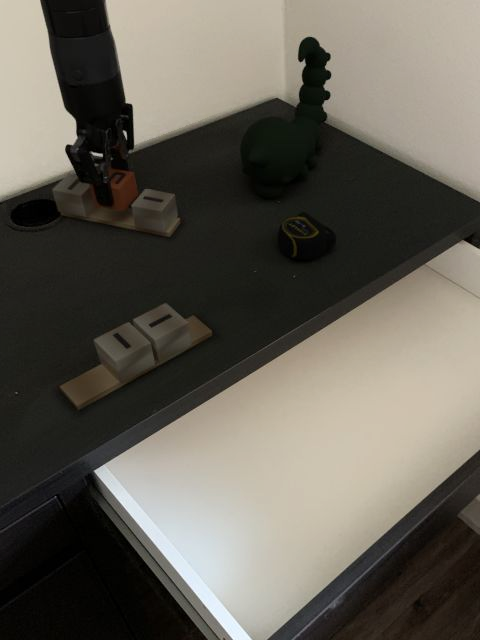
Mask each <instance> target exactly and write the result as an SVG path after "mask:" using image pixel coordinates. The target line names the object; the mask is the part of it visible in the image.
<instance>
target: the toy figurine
mask: <svg viewBox="0 0 480 640" xmlns="http://www.w3.org/2000/svg"><path fill="white" fill-rule="evenodd" d="M331 57H332V55H331V53H330V52H327V51H326V50H325V49H324V48H323V47H322V46H321V45H320V42H319V40H318V39H317V38H316V37H313V36H306V37H304V38H303V39H302V40H301V41H300V42H299V45H298V50H297V60H298V62H299V63H303V62H304V64H305V66H304V67H303V69H302V71H301V81H302V84H301V86H300V88H299V91H298V101H299V102H298V103H297V105H296V107H295V109H294V118H292V119H291V121H290V120H288V119H286V118H283V117H280V116H266V117H262V118H260V119H257V120H256V121H255V122H253V123H252V124H251V125H250V126H249V127H248V128H247V129H246V130H245V132H244V134H243V136H242V138H241V142H240V146H239V153H240V160H241V165H242V166H241V172H242V173H243V174H244V175H247V176H249V177H250V178H251V179H252V180H254V181H255V183H254V190H255V191H256V193H257V194H258V195H259V196H260V197H262V198H266V199H271V200H272V199H277V198H279V197H281V195H282V194H283V191H284V187H283V186H284V185H287V184H289V183H290V182H292V181H293V180H294V179H297V180H303V179H306V178H307V177H308V174H309V169H314V168H315V167H316V165H317V164H318V159H317V157H316V155H314V152H315V151H321V150H322V149H323V147H324V140H323V138H321V137H320V135H321V129H320V126H321V125H322V123H325V122H326V121H327V120H328V113H327V112H326V111H325V109H324V106H323V105H324V104H325V102H327V101H329V100H330V98H331V95H332V93H331V92H330V90H327V89H325V85H326V83H327V81H329V80H331V78H332V72H331V71H330V69H326V66H327V64H328V62H330V61H331Z"/></svg>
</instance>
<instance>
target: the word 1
mask: <svg viewBox="0 0 480 640" xmlns="http://www.w3.org/2000/svg"><path fill="white" fill-rule="evenodd" d="M51 191H52V194H53V195H52V196H53V198H54V202H55V205H56V209H57V212H59V213H60V215H61V216H64V217H68V218H74V219H79V220H83V221H87V222H92V223H93V222H94V223H98V224H103V225H108V226H113V227H117V228H122V229H127V230H131V231H137V232H141V233H142V232H143V233H146V234H153V235H157V236H162V237H167V238H171V237H172V235H173V234H174V232H175V231H176V230H177V229H178V227H179V225H180V224H181V223H182V221H181V217H178V216H179V214H178V207H177V200H176V194H175V193H171V192H165V191H159V190H156V189H149V188H145V189H143V191H142V192H141V193H140V194H139V195H138V196H137V197H136V198H135V199H134V201H133V202H132V203H131V204H130V205H131V206H130V207H128V208H127V209H126V210H125V211H124V212H123V211H118V210H113V209H108V208H103V207H98V206H95V205H94V201H93V197H92V193H91V189H90V185H89V184H87V183H81V182H80V181H79V178H78V176H77V174H72V173H68V174H66V176H64V178H63V179H62V180H61V181H59V182H58V183H57V184H56V185H55V186H54V187H53V188H52V189H51Z"/></svg>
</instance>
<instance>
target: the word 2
mask: <svg viewBox="0 0 480 640" xmlns="http://www.w3.org/2000/svg"><path fill="white" fill-rule="evenodd" d="M132 323H133V325H132V324H131V322H129V321H128V322H125V323H123V324H121V325H120V326H119V325H118V327H115V328H113V329H112V330H110V331H108V332H105V333H104V334H101V335H100V336H98V337H96V338H94V339H93V343H94V346H95V349H96V353H97V356H98V360H99V363H100V364H98V365H97V366H95V367H93V368H91V369H89V370H87V371H85V372H84V373H82V374H80V375H78V376H76V377H74V378H72V379H70V380H69V381H66V382H64V383H62V384H61V385H59V389H60V392H62V394H63V395H64V396H65V398H67V399H68V401H69V402H70V403H71V404H72V405H73V407H75V408H76V410H78V411H80V410H82V409H84V408H86V407H87V406H89V405H91V404H93V403H94V402H96V401H99V400H100V399H102V398H103V397H105V396H107V395H109V394H111V393H112V392H114V391H116V390H118V389H120V388H121V387H124V386H125V385H127V384H129V383H130V382H132V381H134V380H137V378H140V377H141V376H143V375H145V374H147V373H148V372H150V371H152V370H154V369H156V368H157V367H159V366H161V365H163V364H164V363H166V362H168V361H170V360H171V359H174V358H175V357H177V356H179V355H181V354H182V353H184V352H186V351H188V350H190V349H191V348H193V347H195V346H197V345H198V344H201V343H203V342H204V341H206V340H207V339H209V338H211V337H213V330H212V329H210V328H209V327H208V326H207V325H206V324H204V323H203V322H202V321H201V320H200V319H199V318H197V317H196V316H195V315H194V314H192V315H191V316H189V317H188V318H184V317H183V316H182V315H180V314H179V313H178V312H177V311H176V310H175V309H174V308H173V307H171V305H169V304H168V303H167V302H165V303H162V304H160V305H158V306H157V307H154V308H153V309H150V310H149V311H146V312H144V313H143V314H141V315H139V316H137V317H135V318H133V319H132Z"/></svg>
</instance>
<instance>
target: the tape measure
mask: <svg viewBox="0 0 480 640" xmlns="http://www.w3.org/2000/svg"><path fill="white" fill-rule="evenodd" d="M336 242H337V234H336V232H334V231H333V230H332V229H331V228H330V227H328V226H327V225H325V224H323V223H321V222H320V221H318V220H317V219H315V218H314V217H313V216H312V215H310V214H309V213H307V212H306V211H302V212H300V213H298V214H297V215H294V216H291V217H288V218H286V219H284V220H283V221H282V222H281V224H280V225H279V227H278V233H277V244H278V247H279V249H280V250H281V251H282V252H283V254H286V256H287V257H288V256H289V257H291V258H293V259H296V260H305V261H307V260H312V259H313V260H314V259H316V258H319V257H320V256H322V255H323V254H324V253H325V252H327V251H328V250H332V248H334V246H335V245H336Z"/></svg>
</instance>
